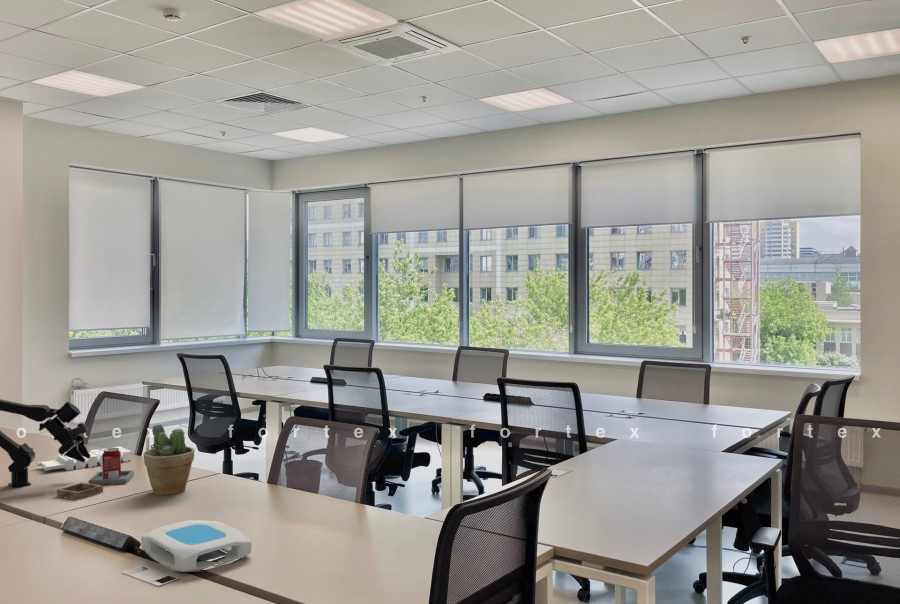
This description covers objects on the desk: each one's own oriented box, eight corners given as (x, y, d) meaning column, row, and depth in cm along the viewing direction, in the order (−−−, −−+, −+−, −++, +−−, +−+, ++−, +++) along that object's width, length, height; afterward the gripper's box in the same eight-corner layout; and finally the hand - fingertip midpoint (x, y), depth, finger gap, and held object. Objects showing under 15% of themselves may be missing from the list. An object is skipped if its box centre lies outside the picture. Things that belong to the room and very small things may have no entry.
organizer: (131, 451, 329) (45, 463, 305) (131, 461, 329) (45, 475, 305) (120, 446, 338) (36, 458, 314) (120, 456, 339) (36, 469, 314)
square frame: (56, 496, 272) (56, 489, 272) (82, 489, 283) (82, 482, 283) (78, 499, 268) (78, 493, 268) (103, 492, 278) (103, 485, 278)
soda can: (120, 480, 294) (120, 450, 294) (102, 481, 291) (102, 451, 291) (120, 476, 300) (120, 446, 300) (102, 477, 298) (102, 448, 297)
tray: (88, 485, 288) (88, 480, 287) (97, 476, 301) (97, 471, 301) (126, 483, 290) (126, 478, 290) (134, 475, 304) (134, 470, 304)
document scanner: (207, 535, 231) (206, 515, 231) (253, 558, 212) (253, 536, 212) (140, 551, 217) (140, 530, 216) (182, 578, 197) (182, 555, 197)
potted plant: (203, 485, 288) (203, 422, 288) (181, 499, 270) (181, 431, 269) (158, 484, 290) (158, 421, 289) (133, 497, 271) (133, 430, 271)
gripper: (70, 419, 284) (98, 449, 286) (81, 414, 302) (108, 442, 304) (46, 439, 282) (74, 469, 284) (59, 433, 300) (86, 460, 302)
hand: (87, 459), depth 293 cm, fingers open, 9 cm apart
